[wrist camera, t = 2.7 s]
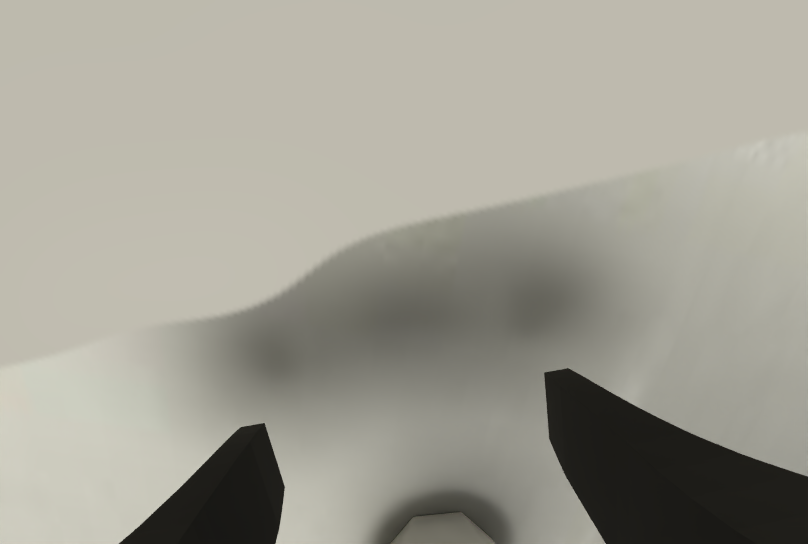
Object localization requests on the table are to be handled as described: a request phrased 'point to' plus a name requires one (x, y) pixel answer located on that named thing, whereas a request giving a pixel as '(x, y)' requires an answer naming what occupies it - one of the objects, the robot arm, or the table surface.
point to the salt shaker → (442, 530)
